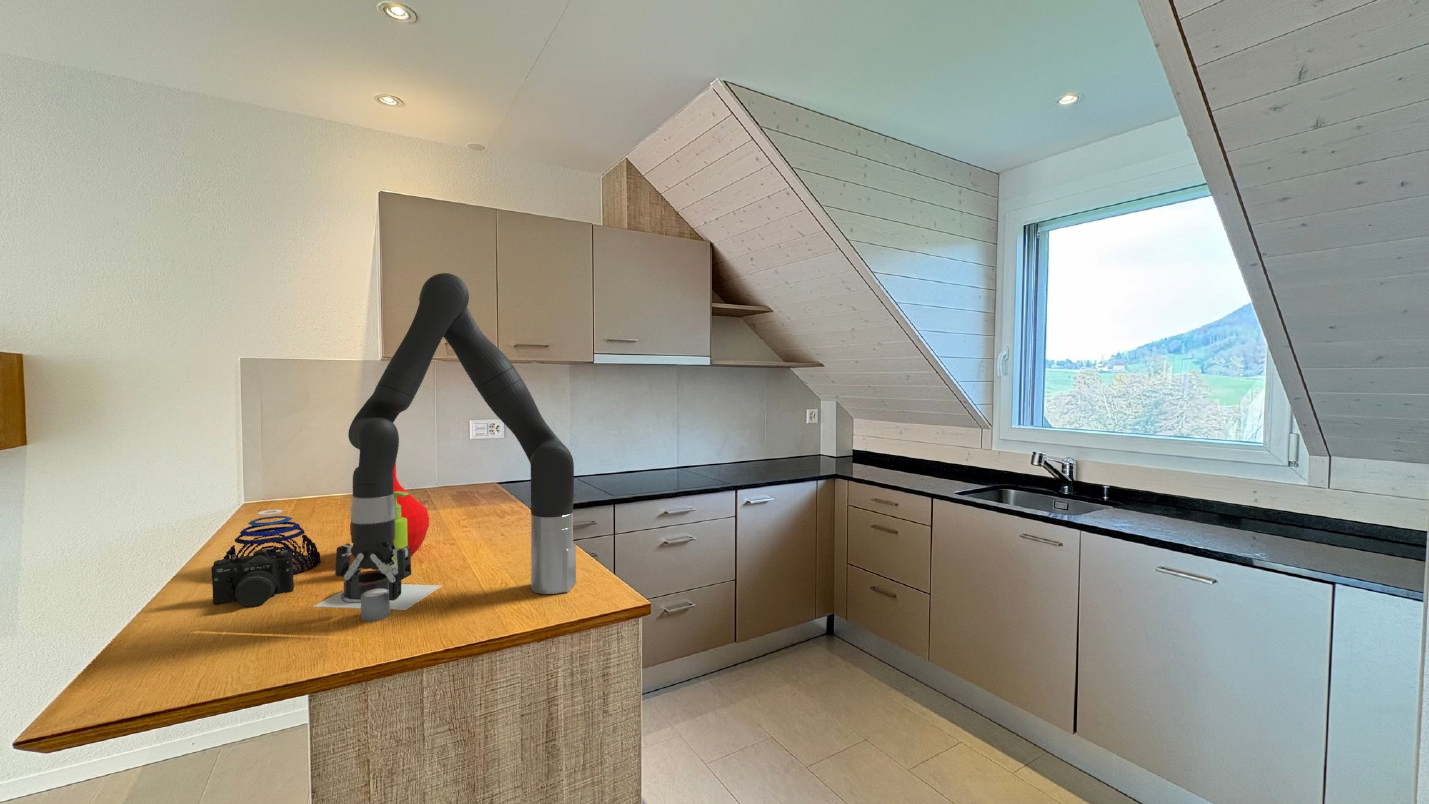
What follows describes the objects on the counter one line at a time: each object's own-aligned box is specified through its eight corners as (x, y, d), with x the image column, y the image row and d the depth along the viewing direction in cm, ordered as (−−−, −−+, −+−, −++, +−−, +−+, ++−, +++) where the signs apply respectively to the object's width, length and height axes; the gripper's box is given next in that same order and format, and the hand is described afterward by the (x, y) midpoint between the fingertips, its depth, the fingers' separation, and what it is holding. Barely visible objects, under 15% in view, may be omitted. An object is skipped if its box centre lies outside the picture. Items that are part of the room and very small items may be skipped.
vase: (356, 573, 142) (353, 451, 141) (345, 555, 157) (343, 444, 155) (437, 559, 154) (435, 446, 152) (420, 543, 168) (419, 440, 167)
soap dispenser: (399, 578, 139) (398, 495, 138) (374, 576, 140) (373, 493, 140) (417, 570, 145) (415, 490, 144) (392, 568, 146) (391, 489, 145)
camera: (201, 617, 116) (200, 567, 116) (216, 599, 126) (215, 553, 125) (287, 605, 123) (286, 558, 122) (295, 588, 132) (294, 544, 132)
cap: (395, 613, 119) (395, 588, 118) (380, 624, 114) (379, 597, 113) (372, 612, 119) (371, 587, 119) (355, 623, 114) (354, 596, 114)
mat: (442, 587, 134) (442, 585, 134) (405, 611, 120) (405, 609, 120) (358, 584, 135) (358, 582, 135) (312, 608, 121) (312, 606, 121)
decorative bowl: (219, 590, 131) (217, 526, 131) (217, 567, 146) (216, 510, 146) (325, 571, 144) (323, 513, 144) (313, 552, 160) (312, 500, 159)
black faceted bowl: (409, 585, 134) (409, 570, 133) (378, 603, 123) (378, 587, 122) (363, 583, 134) (362, 568, 134) (328, 602, 123) (327, 585, 123)
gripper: (419, 514, 119) (418, 593, 120) (352, 511, 120) (352, 589, 121) (396, 523, 111) (396, 607, 112) (325, 520, 113) (325, 603, 113)
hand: (373, 598), depth 116 cm, fingers open, 8 cm apart
